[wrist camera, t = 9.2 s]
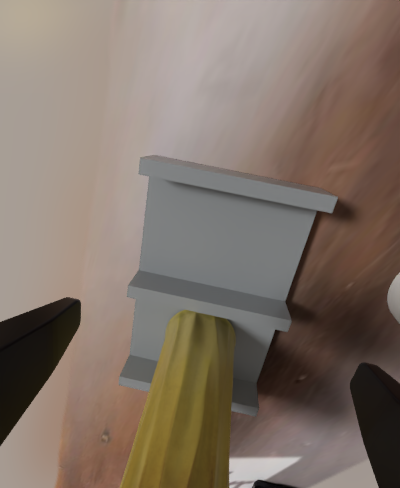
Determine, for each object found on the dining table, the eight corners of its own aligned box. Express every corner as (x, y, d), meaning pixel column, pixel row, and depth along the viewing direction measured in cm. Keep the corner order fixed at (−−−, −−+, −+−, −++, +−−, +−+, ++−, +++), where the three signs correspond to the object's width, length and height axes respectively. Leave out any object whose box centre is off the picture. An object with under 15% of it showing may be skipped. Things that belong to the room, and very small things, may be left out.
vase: (152, 325, 24) (51, 557, 10) (209, 293, 22) (176, 522, 9) (192, 372, 25) (148, 630, 12) (249, 346, 23) (273, 613, 10)
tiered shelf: (252, 383, 26) (255, 416, 23) (131, 356, 26) (118, 384, 23) (320, 188, 19) (337, 197, 16) (154, 155, 19) (140, 157, 16)
